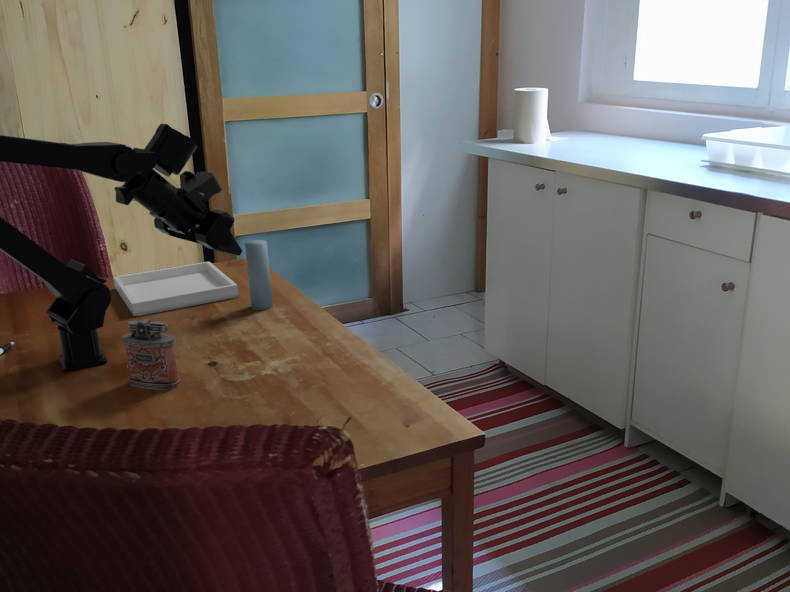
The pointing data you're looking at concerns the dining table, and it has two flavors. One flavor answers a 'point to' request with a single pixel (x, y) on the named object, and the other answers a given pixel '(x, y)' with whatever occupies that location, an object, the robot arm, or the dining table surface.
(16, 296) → the dining table surface
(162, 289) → the tray
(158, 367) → the lighter
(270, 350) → the dining table surface
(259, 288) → the dowel
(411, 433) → the dining table surface
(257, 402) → the dining table surface
